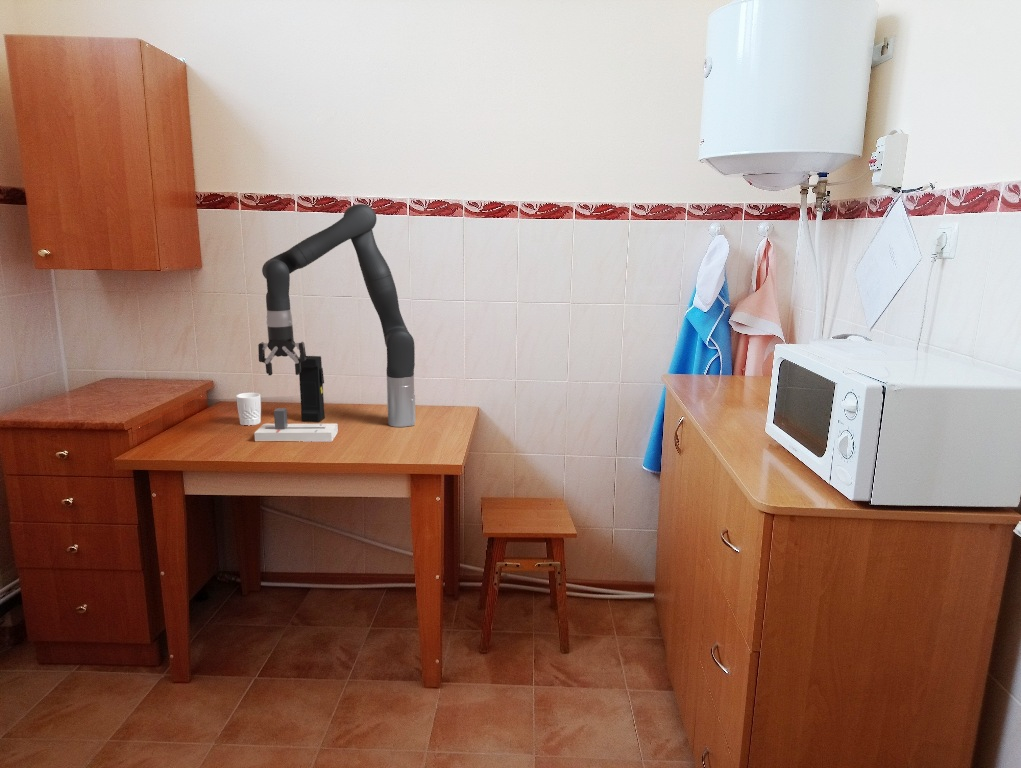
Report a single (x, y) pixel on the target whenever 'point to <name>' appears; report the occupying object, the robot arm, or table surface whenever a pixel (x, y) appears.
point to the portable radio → (312, 389)
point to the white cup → (249, 408)
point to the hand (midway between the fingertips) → (283, 374)
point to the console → (297, 432)
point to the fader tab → (280, 418)
